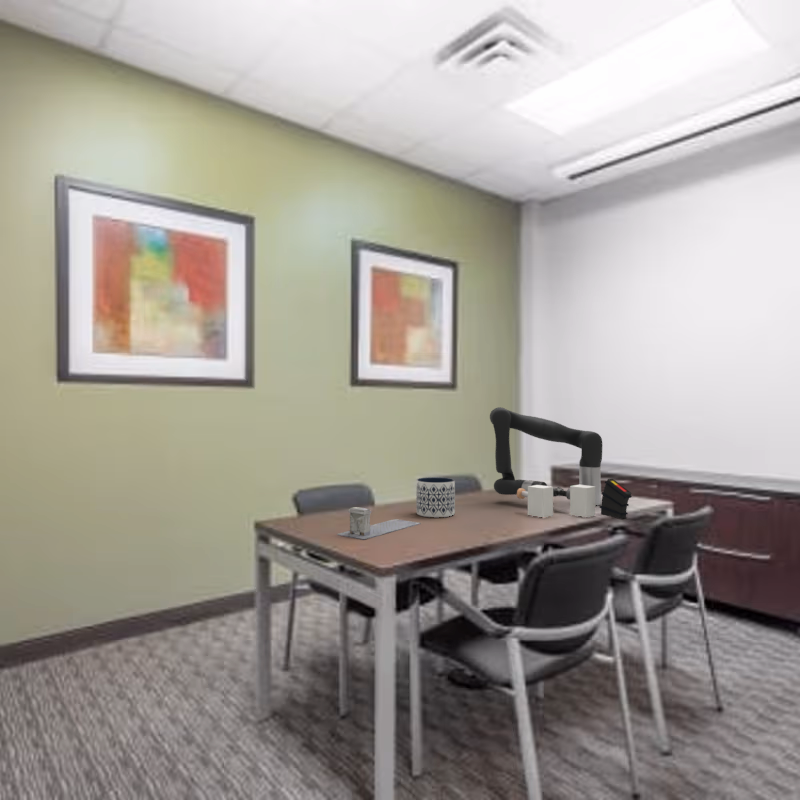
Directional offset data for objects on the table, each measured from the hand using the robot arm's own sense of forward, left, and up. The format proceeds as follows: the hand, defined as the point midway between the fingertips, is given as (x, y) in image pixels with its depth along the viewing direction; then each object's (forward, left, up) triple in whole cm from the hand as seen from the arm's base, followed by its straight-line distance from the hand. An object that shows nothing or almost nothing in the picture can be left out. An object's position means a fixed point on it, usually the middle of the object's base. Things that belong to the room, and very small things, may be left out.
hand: (569, 494), depth 250 cm
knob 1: (+14, -11, -2) cm, 18 cm away
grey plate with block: (+79, -29, -9) cm, 85 cm away
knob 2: (0, +4, -2) cm, 5 cm away
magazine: (-8, +17, -8) cm, 20 cm away
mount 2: (0, +6, -8) cm, 10 cm away
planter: (+44, -35, -8) cm, 57 cm away
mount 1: (+14, -5, -8) cm, 17 cm away
